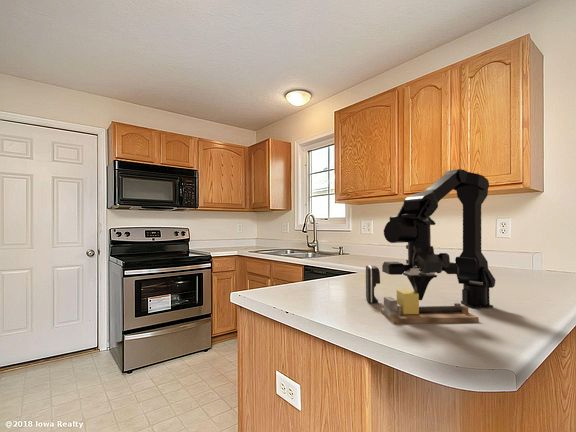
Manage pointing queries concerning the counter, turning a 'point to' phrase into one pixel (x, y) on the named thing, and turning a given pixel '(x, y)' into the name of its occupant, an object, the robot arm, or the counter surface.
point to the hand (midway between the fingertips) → (419, 299)
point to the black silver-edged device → (371, 282)
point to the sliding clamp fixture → (427, 313)
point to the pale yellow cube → (408, 301)
